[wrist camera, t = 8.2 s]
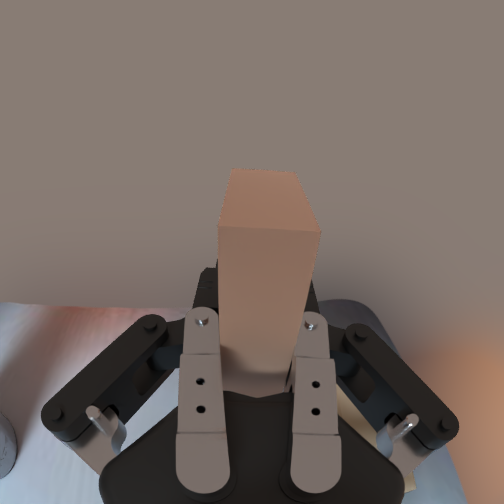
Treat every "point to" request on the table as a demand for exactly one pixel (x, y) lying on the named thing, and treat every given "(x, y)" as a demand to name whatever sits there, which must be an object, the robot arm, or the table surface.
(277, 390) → the block
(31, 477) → the table surface
